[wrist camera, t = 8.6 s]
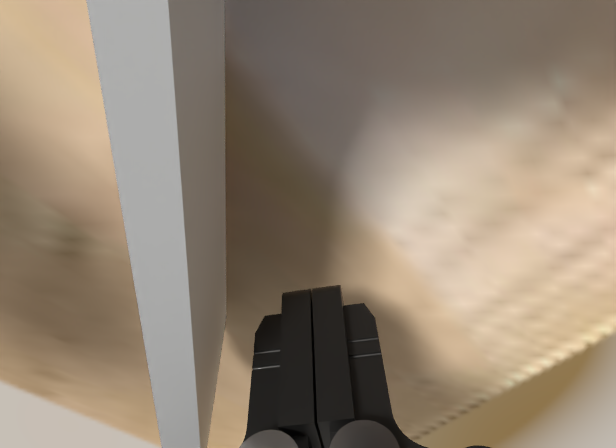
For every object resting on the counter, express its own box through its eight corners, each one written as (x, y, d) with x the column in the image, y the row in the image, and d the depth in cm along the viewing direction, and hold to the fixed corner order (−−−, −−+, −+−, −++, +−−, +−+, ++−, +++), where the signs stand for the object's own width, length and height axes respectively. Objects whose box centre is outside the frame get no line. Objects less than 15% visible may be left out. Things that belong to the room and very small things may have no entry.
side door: (233, 312, 14) (210, 486, 10) (185, 310, 14) (141, 485, 10) (237, -200, 7) (168, -307, 3) (141, -212, 7) (-59, -342, 3)
